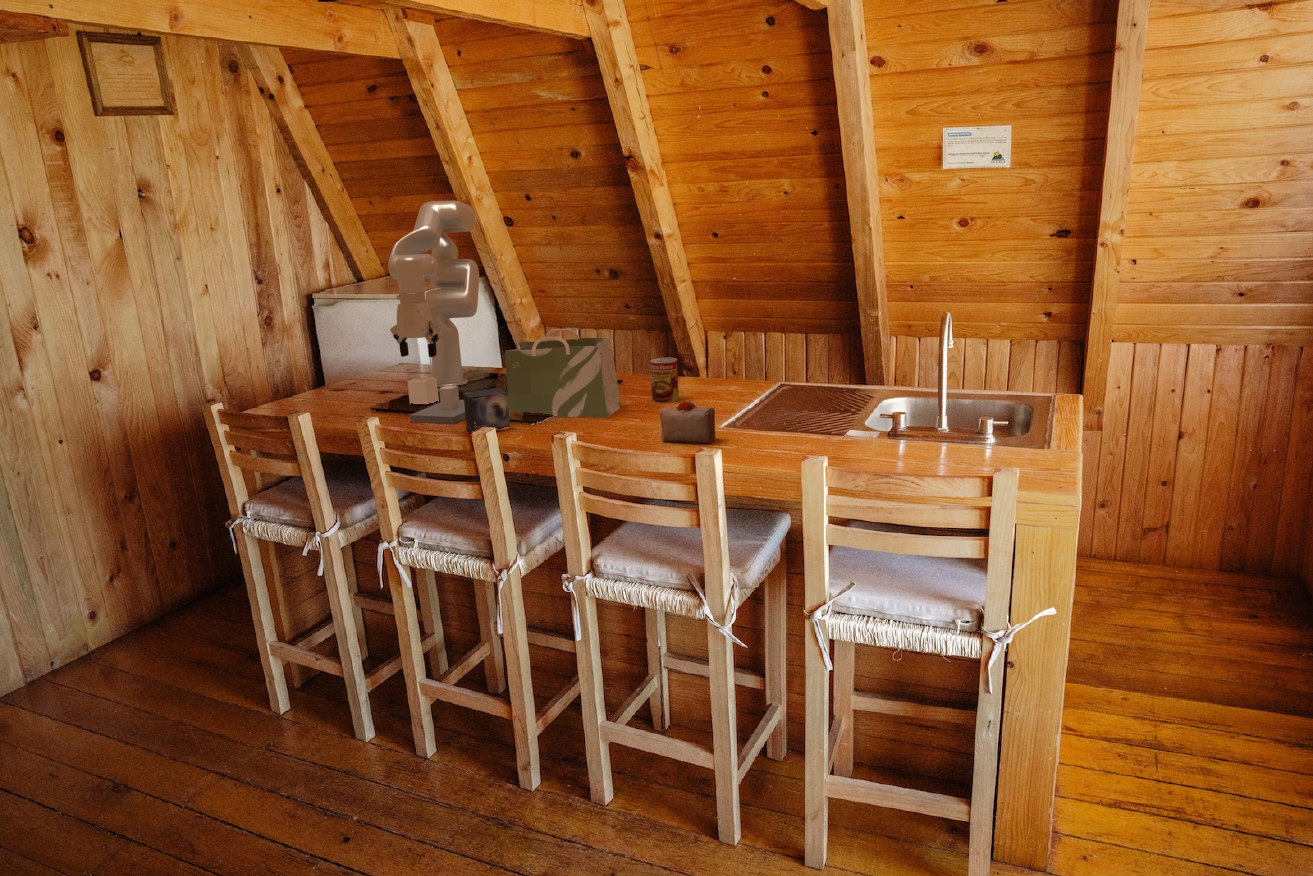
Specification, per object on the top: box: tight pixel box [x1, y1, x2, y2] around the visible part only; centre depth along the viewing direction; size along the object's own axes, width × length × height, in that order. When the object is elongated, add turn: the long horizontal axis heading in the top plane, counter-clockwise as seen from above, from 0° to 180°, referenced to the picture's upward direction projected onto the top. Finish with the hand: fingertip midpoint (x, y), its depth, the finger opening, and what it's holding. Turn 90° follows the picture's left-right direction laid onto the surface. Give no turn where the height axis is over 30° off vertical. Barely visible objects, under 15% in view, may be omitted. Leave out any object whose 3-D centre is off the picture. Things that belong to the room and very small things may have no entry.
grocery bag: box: [504, 328, 622, 419], centre depth 269 cm, size 32×14×23 cm, turn 74°
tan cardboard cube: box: [407, 376, 440, 405], centre depth 288 cm, size 6×6×8 cm
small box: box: [463, 387, 511, 434], centre depth 253 cm, size 11×6×10 cm, turn 117°
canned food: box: [649, 357, 679, 404], centre depth 278 cm, size 8×8×12 cm
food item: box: [658, 400, 716, 444], centre depth 234 cm, size 14×8×10 cm, turn 71°
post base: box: [409, 386, 466, 425], centre depth 272 cm, size 20×14×8 cm
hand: (418, 356), depth 284 cm, fingers open, 9 cm apart
